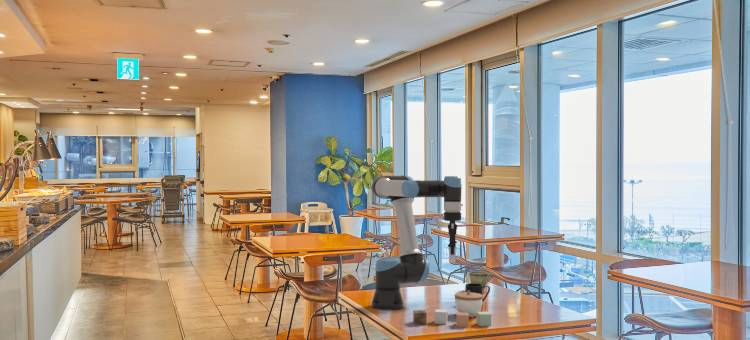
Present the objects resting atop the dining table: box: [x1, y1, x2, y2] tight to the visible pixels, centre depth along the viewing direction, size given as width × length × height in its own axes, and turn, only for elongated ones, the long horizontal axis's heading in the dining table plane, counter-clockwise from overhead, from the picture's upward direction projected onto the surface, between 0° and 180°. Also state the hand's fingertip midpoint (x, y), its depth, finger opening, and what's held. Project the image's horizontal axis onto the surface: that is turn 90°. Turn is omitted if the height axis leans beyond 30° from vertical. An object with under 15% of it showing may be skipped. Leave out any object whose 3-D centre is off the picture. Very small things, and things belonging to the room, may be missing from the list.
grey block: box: [434, 308, 449, 325], centre depth 274 cm, size 5×5×5 cm
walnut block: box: [412, 309, 427, 326], centre depth 272 cm, size 5×5×5 cm
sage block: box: [475, 311, 492, 327], centre depth 271 cm, size 5×5×5 cm
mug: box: [465, 283, 491, 304], centre depth 312 cm, size 8×12×10 cm
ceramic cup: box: [468, 270, 494, 292], centre depth 347 cm, size 13×10×10 cm
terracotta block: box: [455, 311, 470, 328], centre depth 269 cm, size 5×5×5 cm
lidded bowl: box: [454, 290, 484, 318], centre depth 288 cm, size 13×13×11 cm
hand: (452, 260), depth 278 cm, fingers open, 13 cm apart
